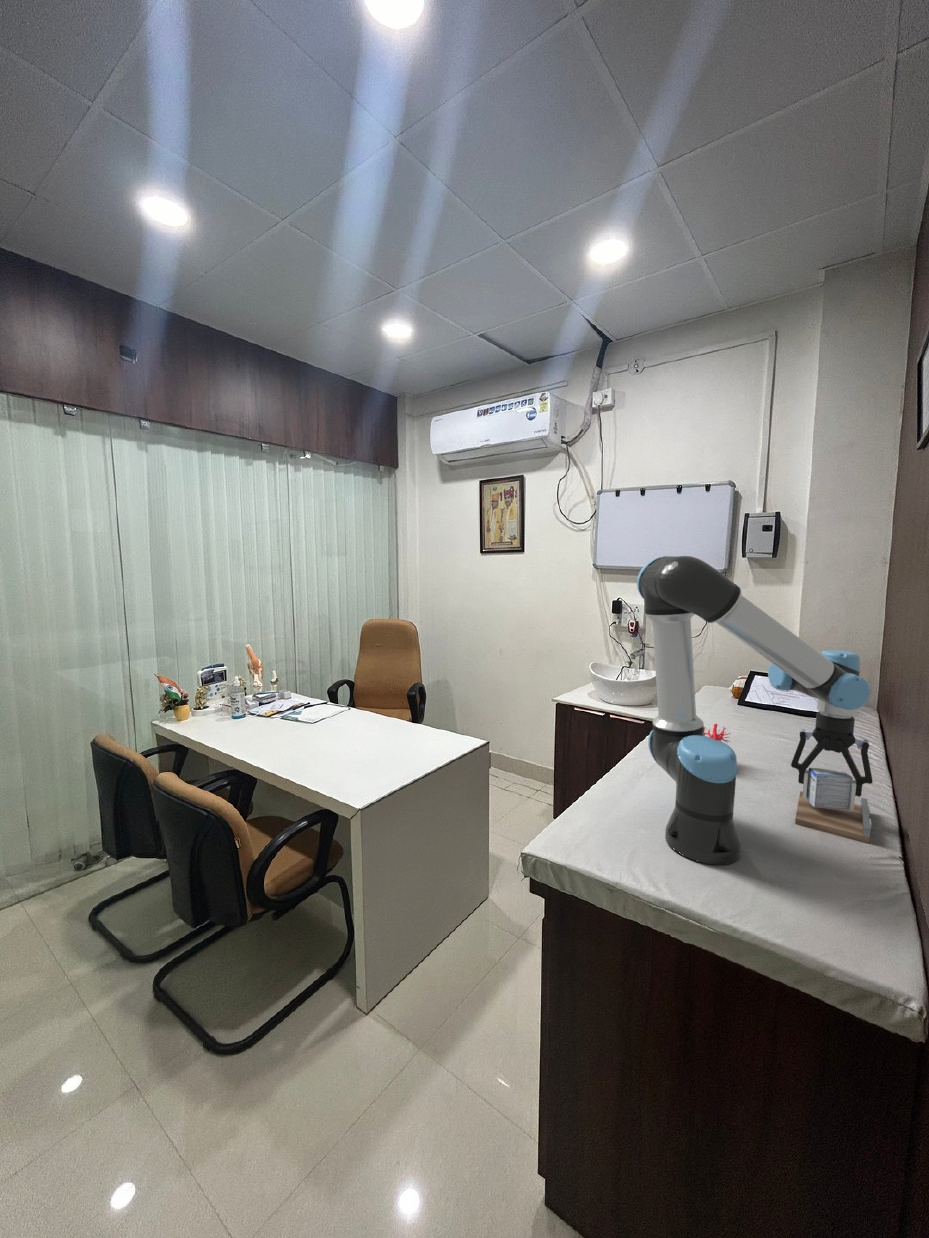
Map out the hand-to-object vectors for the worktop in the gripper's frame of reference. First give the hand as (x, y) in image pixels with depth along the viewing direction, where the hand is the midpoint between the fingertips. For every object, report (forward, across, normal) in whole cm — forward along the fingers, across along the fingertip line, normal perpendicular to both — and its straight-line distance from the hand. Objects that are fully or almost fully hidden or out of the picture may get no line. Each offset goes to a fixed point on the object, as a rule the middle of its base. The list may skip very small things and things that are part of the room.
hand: (827, 801), depth 124 cm
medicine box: (+1, 0, 0) cm, 1 cm away
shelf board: (+4, -1, 0) cm, 4 cm away
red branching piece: (+4, +30, -17) cm, 35 cm away
